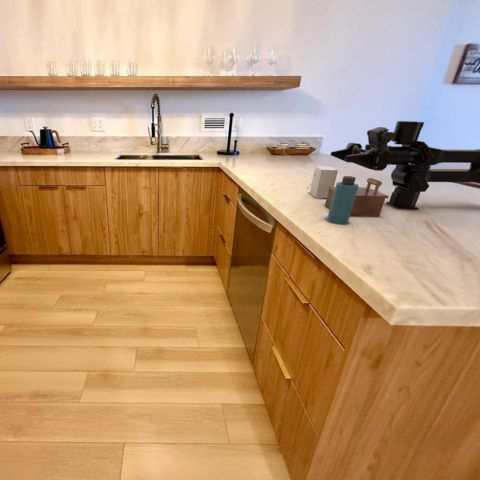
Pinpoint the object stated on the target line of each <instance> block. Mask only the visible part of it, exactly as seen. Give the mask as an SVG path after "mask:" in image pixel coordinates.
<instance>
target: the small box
mask: <svg viewBox="0 0 480 480" xmlns="http://www.w3.org/2000/svg"><path fill="white" fill-rule="evenodd" d="M313 170H314V171H313V174H312V180H311V183H310V188H309V193H310V194H311V196H313V197H314V198H315V199H327V195H328V191H329V187H335V185H336V180H337V177H338V176H337V175H338V171H339V170H338V169H336V168H335V167H332V166H328V165H326V166H325V165H324V166H322V165H315V166H314V169H313Z"/></svg>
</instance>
